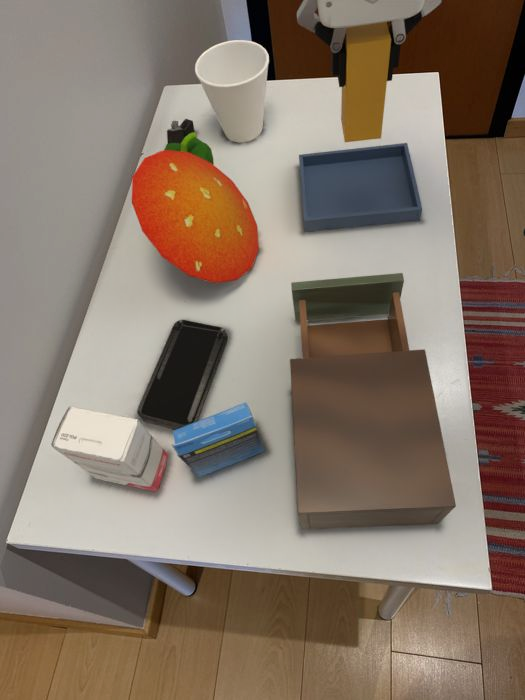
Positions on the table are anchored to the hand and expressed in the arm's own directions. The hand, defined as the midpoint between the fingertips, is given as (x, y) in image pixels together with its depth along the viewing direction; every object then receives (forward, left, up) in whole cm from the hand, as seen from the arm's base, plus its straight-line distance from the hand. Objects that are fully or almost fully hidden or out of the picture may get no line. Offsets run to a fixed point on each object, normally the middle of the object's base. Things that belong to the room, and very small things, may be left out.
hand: (363, 74), depth 57 cm
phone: (+25, +24, -23) cm, 42 cm away
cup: (+17, -24, -24) cm, 38 cm away
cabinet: (+3, +36, -23) cm, 43 cm away
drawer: (+3, +24, -22) cm, 33 cm away
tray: (-1, -6, -23) cm, 24 cm away
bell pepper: (+25, -10, -24) cm, 36 cm away
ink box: (+31, +36, -24) cm, 53 cm away
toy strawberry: (+22, +3, -24) cm, 33 cm away
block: (0, 0, -7) cm, 7 cm away
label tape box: (+19, +35, -24) cm, 47 cm away
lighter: (+28, -21, -24) cm, 42 cm away
